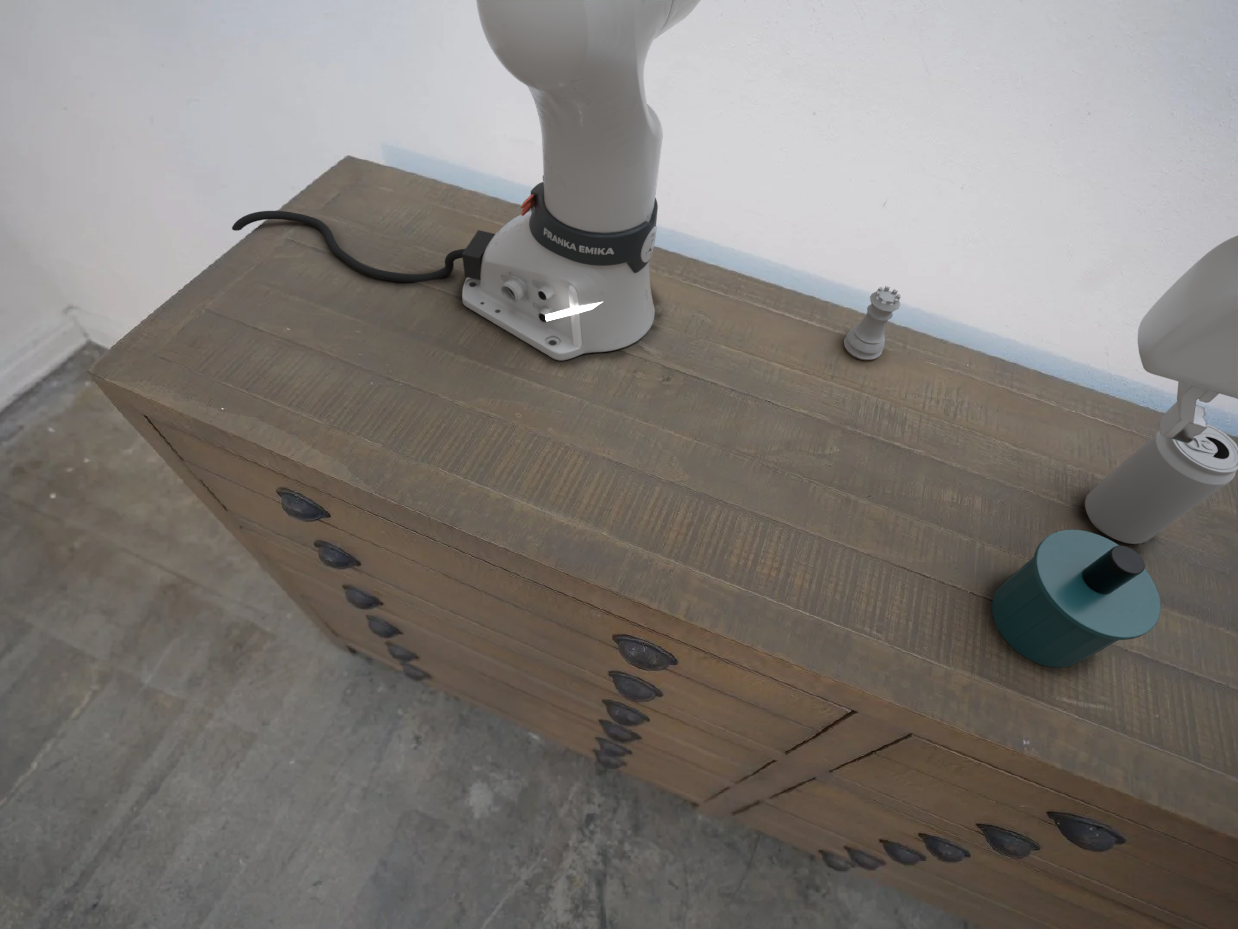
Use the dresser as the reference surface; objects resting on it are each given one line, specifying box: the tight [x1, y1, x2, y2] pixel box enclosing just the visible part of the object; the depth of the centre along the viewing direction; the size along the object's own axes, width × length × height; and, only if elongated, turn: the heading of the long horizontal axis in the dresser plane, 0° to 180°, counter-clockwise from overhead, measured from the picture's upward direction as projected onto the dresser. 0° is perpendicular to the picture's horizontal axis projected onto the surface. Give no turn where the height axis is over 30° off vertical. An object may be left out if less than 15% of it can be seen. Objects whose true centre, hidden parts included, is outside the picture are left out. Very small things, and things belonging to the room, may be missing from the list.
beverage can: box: [1084, 423, 1238, 545], centre depth 62 cm, size 6×6×12 cm
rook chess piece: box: [843, 285, 901, 361], centre depth 75 cm, size 4×4×8 cm
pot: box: [991, 556, 1119, 669], centre depth 56 cm, size 8×8×8 cm
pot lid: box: [1033, 529, 1162, 641], centre depth 52 cm, size 9×9×5 cm
